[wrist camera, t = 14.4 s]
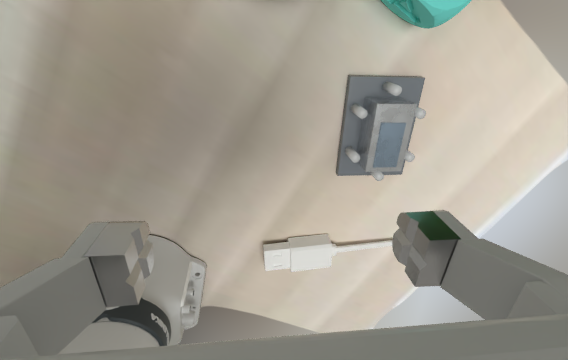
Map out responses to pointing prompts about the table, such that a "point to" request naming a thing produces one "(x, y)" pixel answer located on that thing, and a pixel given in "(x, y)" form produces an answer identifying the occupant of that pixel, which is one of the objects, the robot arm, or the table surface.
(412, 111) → the block
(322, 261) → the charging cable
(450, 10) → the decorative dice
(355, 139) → the peg board
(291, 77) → the table surface
